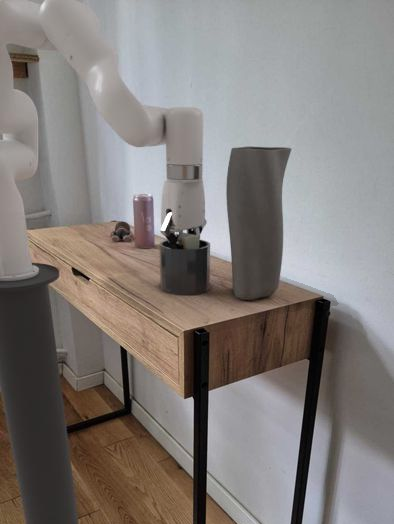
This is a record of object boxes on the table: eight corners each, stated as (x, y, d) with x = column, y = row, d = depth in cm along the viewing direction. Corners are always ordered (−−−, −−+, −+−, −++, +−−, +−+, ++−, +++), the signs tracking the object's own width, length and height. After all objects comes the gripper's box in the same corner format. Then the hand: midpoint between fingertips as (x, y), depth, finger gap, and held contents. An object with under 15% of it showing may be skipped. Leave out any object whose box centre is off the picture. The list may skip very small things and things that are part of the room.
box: (169, 282, 111) (169, 234, 106) (183, 279, 114) (183, 231, 109) (186, 287, 108) (186, 238, 103) (199, 283, 111) (200, 235, 106)
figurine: (134, 246, 153) (136, 233, 161) (134, 231, 150) (135, 219, 158) (108, 246, 153) (110, 233, 161) (106, 231, 150) (109, 219, 158)
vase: (249, 308, 99) (258, 149, 86) (212, 293, 108) (216, 147, 95) (291, 297, 105) (306, 148, 92) (253, 283, 114) (262, 145, 101)
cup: (188, 298, 104) (188, 252, 100) (150, 288, 110) (149, 244, 106) (219, 286, 112) (220, 243, 108) (182, 277, 118) (181, 236, 114)
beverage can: (151, 243, 151) (149, 193, 144) (157, 247, 146) (155, 196, 139) (132, 245, 149) (130, 194, 142) (138, 249, 144) (135, 197, 137)
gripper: (195, 169, 109) (195, 250, 117) (143, 175, 97) (146, 264, 105) (222, 171, 105) (220, 255, 112) (171, 177, 93) (172, 270, 100)
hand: (184, 258), depth 108 cm, fingers closed on box, 4 cm apart
